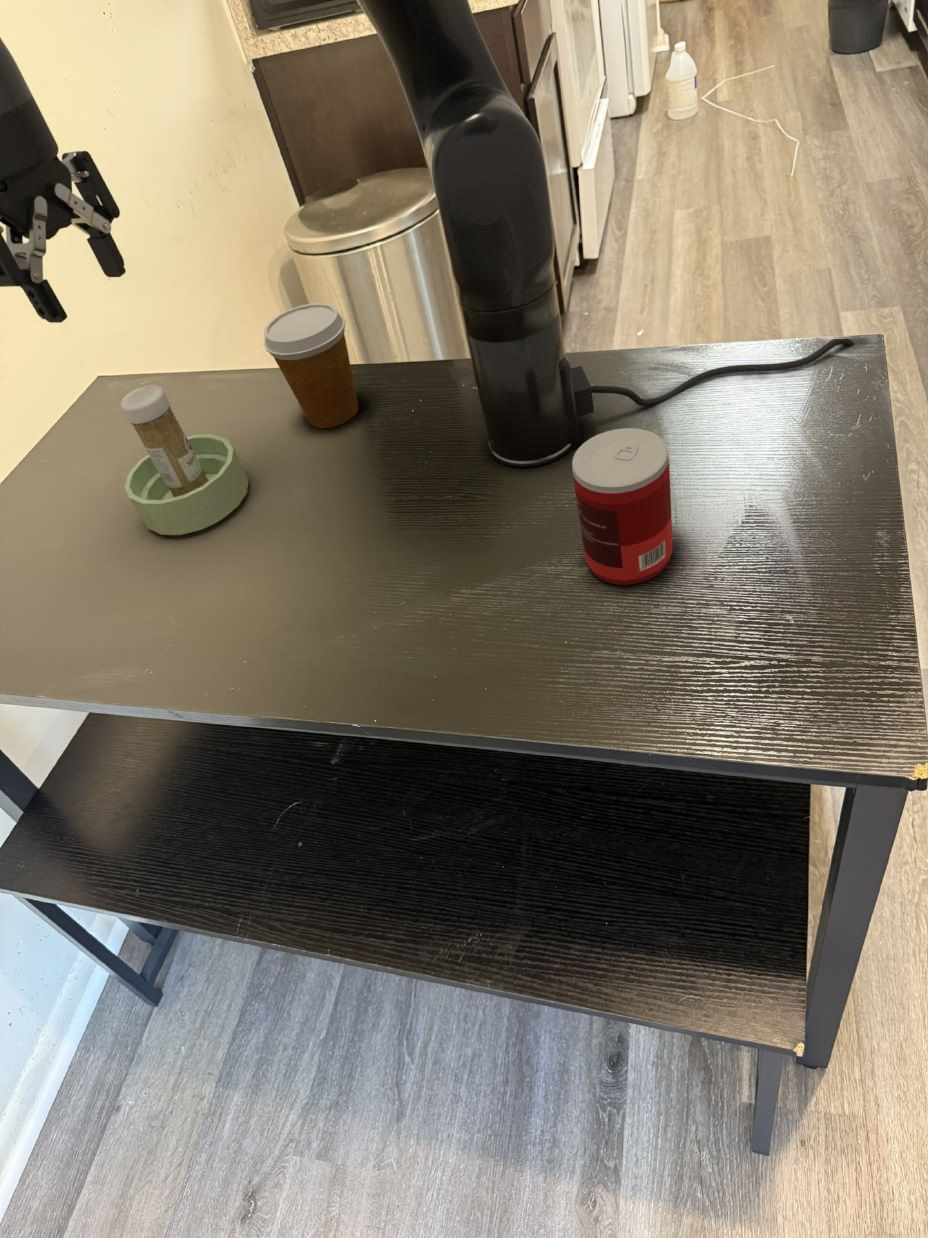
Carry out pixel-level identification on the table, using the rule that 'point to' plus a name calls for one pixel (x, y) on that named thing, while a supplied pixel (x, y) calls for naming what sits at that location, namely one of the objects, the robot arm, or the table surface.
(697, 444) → the table surface
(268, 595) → the table surface
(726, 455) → the table surface
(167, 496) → the bowl
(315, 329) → the disposable coffee cup
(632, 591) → the table surface
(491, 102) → the robot arm
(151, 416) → the sprinkles bottle
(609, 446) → the canned food
